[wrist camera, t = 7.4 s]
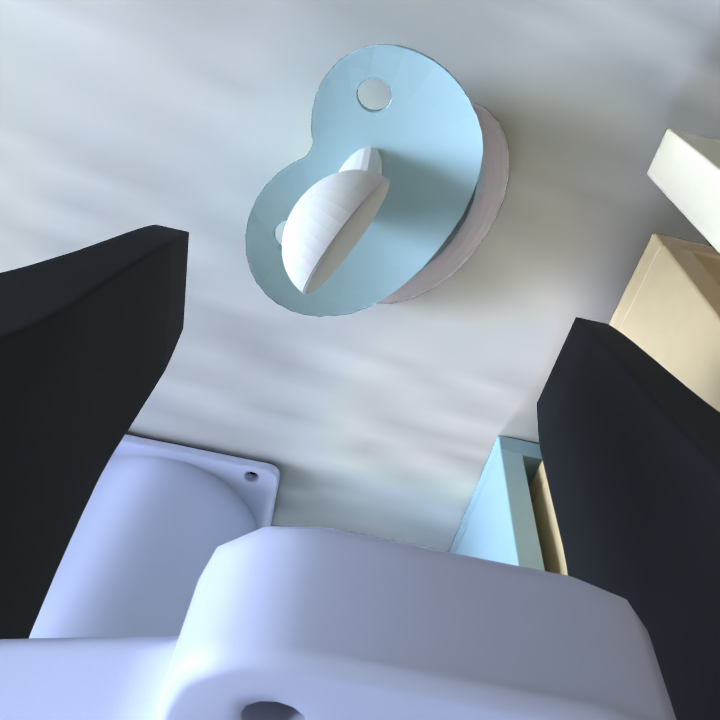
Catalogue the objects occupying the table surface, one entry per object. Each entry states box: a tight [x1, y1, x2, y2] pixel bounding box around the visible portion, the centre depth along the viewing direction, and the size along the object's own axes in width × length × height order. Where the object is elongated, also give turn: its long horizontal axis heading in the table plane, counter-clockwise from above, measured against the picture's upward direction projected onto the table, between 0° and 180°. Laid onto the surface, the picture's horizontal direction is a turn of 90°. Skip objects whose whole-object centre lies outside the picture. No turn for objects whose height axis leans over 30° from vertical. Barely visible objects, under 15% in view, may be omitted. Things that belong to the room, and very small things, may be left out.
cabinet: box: [449, 436, 545, 571], centre depth 24 cm, size 17×13×9 cm
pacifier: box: [246, 44, 510, 317], centre depth 16 cm, size 7×6×6 cm
